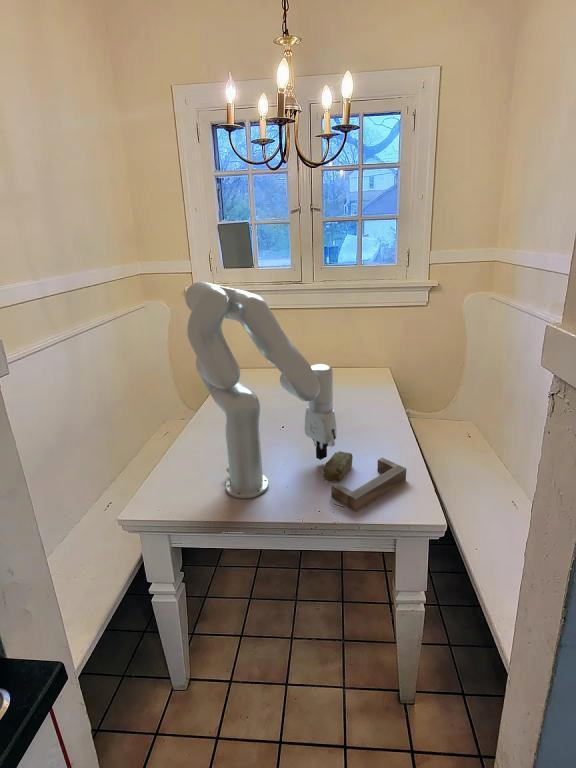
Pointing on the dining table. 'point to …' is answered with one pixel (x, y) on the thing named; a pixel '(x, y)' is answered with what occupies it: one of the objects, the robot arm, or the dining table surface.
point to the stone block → (338, 466)
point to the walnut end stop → (370, 486)
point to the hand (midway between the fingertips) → (321, 457)
